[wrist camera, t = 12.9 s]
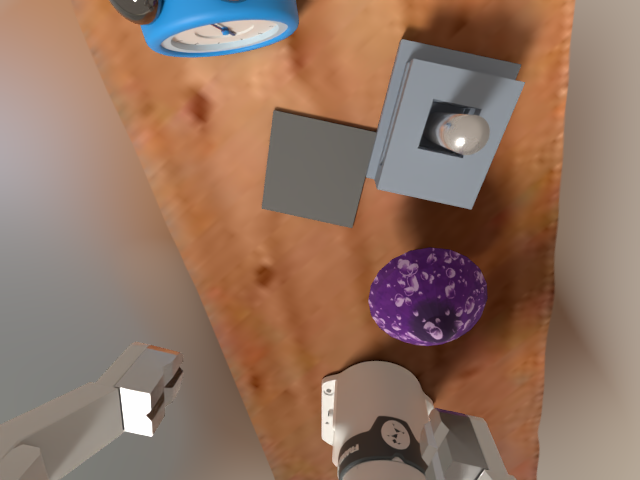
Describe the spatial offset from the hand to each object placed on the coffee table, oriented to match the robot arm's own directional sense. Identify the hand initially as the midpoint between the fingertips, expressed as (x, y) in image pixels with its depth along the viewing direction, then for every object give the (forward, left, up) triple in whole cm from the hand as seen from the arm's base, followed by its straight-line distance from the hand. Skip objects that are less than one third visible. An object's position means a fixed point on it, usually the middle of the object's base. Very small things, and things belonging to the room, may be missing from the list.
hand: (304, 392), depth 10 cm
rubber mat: (0, +3, -31) cm, 31 cm away
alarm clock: (+14, +14, -31) cm, 37 cm away
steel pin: (+8, -9, -30) cm, 32 cm away
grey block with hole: (+8, -9, -31) cm, 33 cm away
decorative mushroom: (-9, -12, -31) cm, 35 cm away
